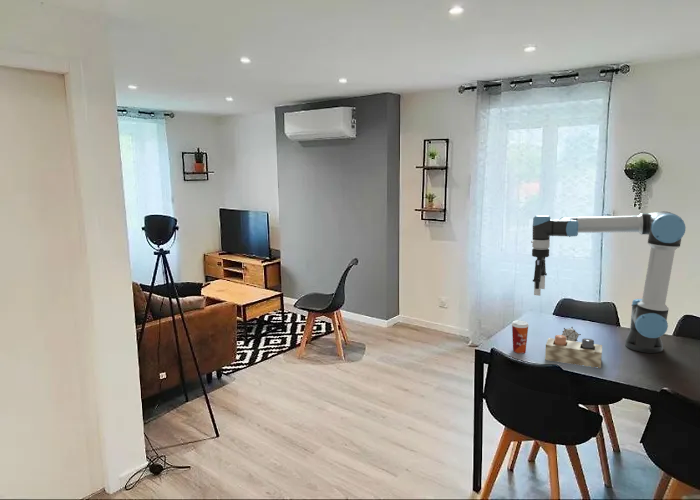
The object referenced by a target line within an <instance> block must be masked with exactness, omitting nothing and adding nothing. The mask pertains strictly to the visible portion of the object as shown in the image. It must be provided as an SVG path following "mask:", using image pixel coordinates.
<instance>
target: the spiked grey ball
mask: <svg viewBox="0 0 700 500" xmlns="http://www.w3.org/2000/svg"><path fill="white" fill-rule="evenodd" d="M561 335H563V336H566V340H568V341H576V342H579V341H578V338H579V336H581V333H579V332H577V331H576V329H574V328H573V326H571V327H570V328H565V327H563V330H562V334H561Z"/></svg>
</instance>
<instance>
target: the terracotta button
mask: <svg viewBox="0 0 700 500" xmlns="http://www.w3.org/2000/svg"><path fill="white" fill-rule="evenodd" d="M554 339H555V345H562V346H566V336H563V335H562V334H557V335H556V334H555V336H554Z"/></svg>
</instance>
